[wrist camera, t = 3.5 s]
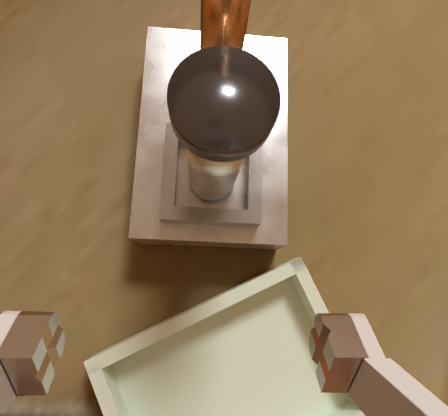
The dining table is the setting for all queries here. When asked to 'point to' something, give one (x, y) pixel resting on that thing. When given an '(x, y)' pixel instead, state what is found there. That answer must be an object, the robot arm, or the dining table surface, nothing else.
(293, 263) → the tray
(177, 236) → the block
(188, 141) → the dome-capped glass cylinder
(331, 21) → the dining table surface
